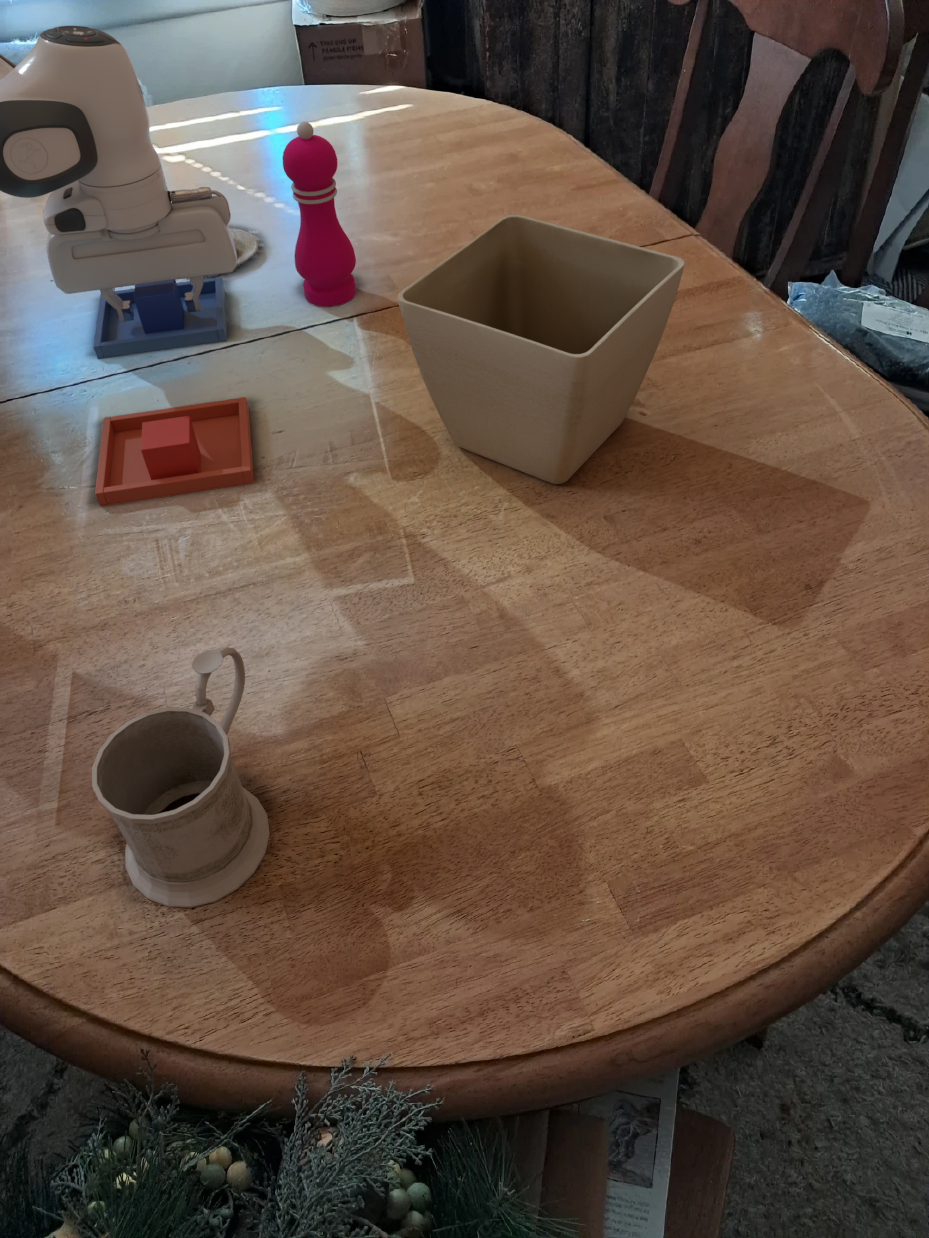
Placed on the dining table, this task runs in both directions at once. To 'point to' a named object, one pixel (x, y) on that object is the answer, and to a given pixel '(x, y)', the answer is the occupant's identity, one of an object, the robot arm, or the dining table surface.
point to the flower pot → (538, 340)
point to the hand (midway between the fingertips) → (161, 314)
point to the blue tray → (132, 339)
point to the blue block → (159, 306)
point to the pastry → (241, 247)
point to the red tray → (221, 466)
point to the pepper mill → (319, 221)
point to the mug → (173, 768)
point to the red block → (170, 448)
